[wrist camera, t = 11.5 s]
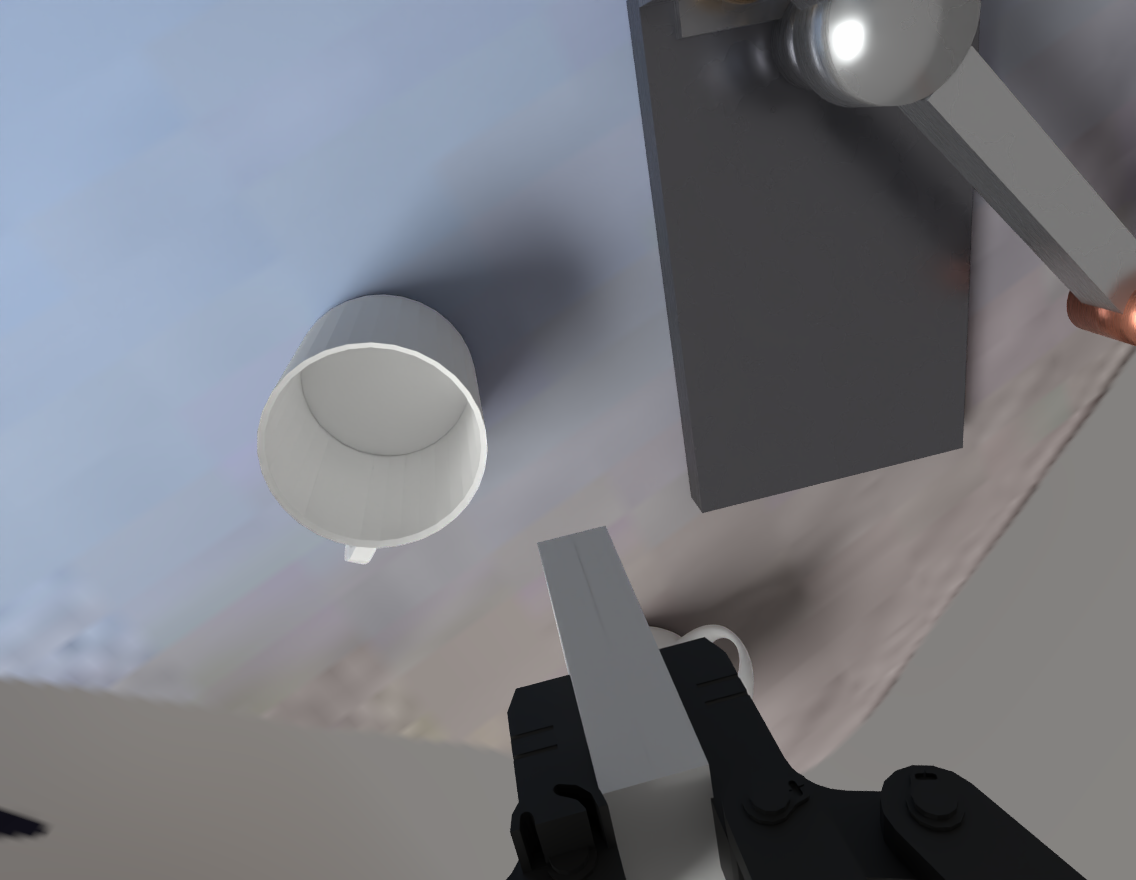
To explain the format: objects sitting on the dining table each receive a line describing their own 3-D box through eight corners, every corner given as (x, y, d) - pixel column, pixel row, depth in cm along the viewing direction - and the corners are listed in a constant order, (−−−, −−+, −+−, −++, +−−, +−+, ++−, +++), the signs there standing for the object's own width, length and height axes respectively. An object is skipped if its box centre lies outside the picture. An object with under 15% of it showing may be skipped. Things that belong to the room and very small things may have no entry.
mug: (331, 262, 36) (300, 305, 28) (502, 335, 39) (522, 393, 30) (253, 472, 40) (205, 567, 31) (416, 525, 42) (413, 626, 34)
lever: (685, -31, 29) (726, -56, 25) (788, -178, 28) (848, -228, 24) (1074, 361, 39) (1148, 388, 35) (1163, 267, 38) (1250, 284, 34)
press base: (610, -118, 32) (648, -169, 26) (958, -181, 33) (1063, -241, 28) (691, 497, 45) (728, 550, 39) (941, 434, 46) (1011, 477, 40)
